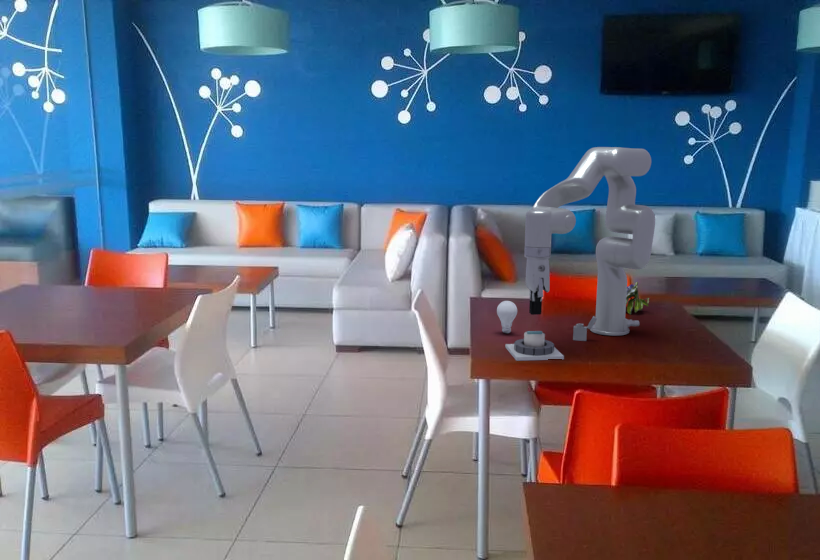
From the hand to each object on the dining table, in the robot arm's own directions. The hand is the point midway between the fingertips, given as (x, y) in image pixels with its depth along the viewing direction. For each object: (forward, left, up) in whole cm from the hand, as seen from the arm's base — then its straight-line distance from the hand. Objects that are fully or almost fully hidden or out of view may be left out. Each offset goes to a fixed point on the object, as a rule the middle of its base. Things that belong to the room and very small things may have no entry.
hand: (535, 313), depth 217 cm
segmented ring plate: (0, 0, -12) cm, 12 cm away
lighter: (-20, -13, -12) cm, 27 cm away
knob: (0, 0, -11) cm, 11 cm away
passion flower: (-51, -52, -12) cm, 74 cm away
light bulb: (+3, -23, -12) cm, 26 cm away
